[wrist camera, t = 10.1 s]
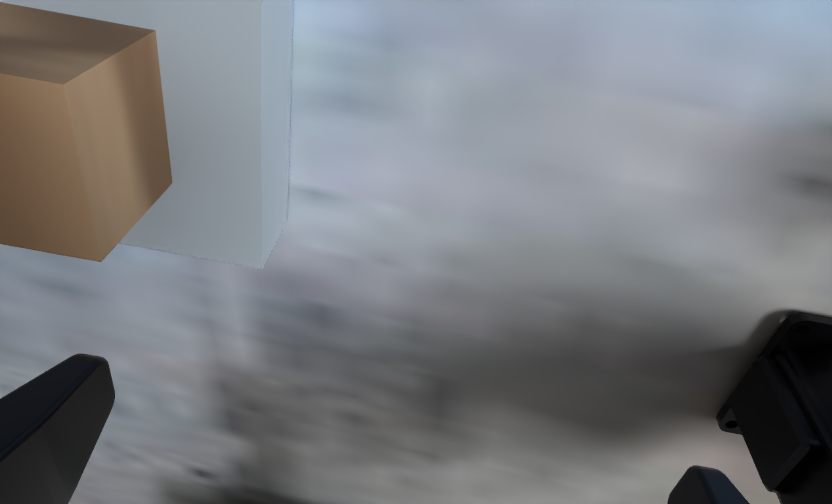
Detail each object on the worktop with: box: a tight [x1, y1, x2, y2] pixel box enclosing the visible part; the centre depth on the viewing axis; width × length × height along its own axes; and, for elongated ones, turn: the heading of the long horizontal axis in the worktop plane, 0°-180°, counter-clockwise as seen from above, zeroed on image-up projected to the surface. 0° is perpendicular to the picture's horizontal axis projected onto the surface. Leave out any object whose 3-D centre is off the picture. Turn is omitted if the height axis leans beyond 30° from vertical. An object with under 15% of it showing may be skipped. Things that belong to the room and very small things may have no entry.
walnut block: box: [0, 2, 172, 262], centre depth 15 cm, size 4×4×4 cm
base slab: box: [0, 0, 293, 269], centre depth 17 cm, size 10×10×3 cm
